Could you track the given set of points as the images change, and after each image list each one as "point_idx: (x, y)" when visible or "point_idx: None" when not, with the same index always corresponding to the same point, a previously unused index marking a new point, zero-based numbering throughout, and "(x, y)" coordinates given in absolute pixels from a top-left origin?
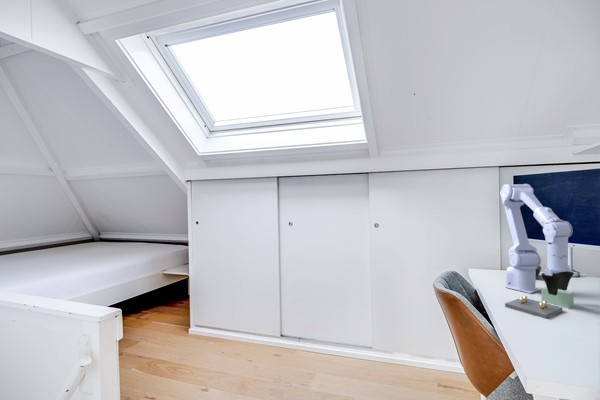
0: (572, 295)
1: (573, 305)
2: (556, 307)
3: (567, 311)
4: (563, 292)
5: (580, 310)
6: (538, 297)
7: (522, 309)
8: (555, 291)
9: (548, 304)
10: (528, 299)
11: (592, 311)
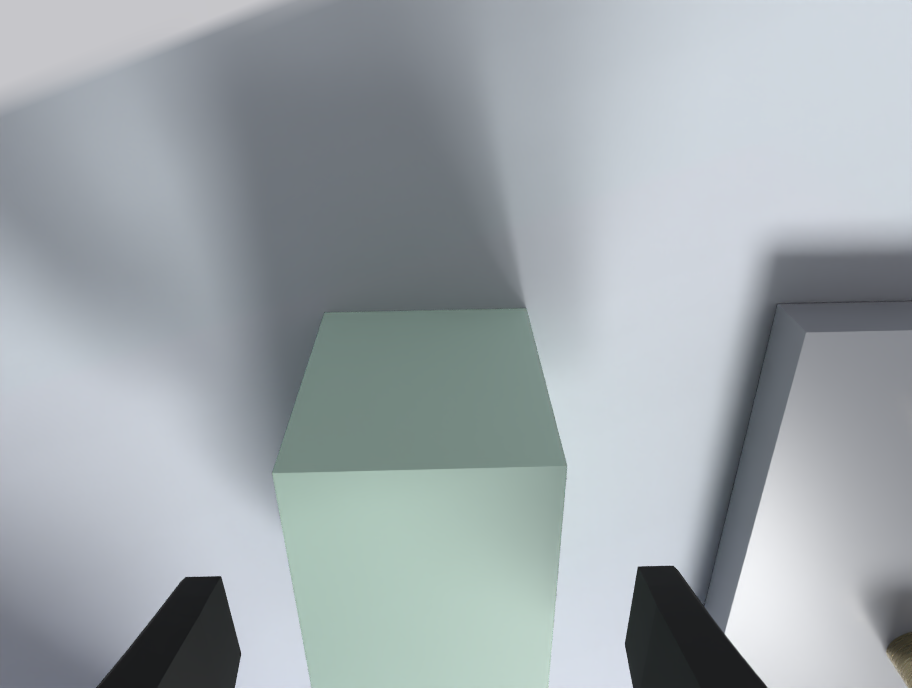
0: (356, 429)
1: (332, 317)
2: (884, 376)
3: (735, 256)
4: (509, 560)
5: (490, 162)
6: None
7: None
8: (722, 638)
9: (792, 486)
10: None
11: (352, 13)
